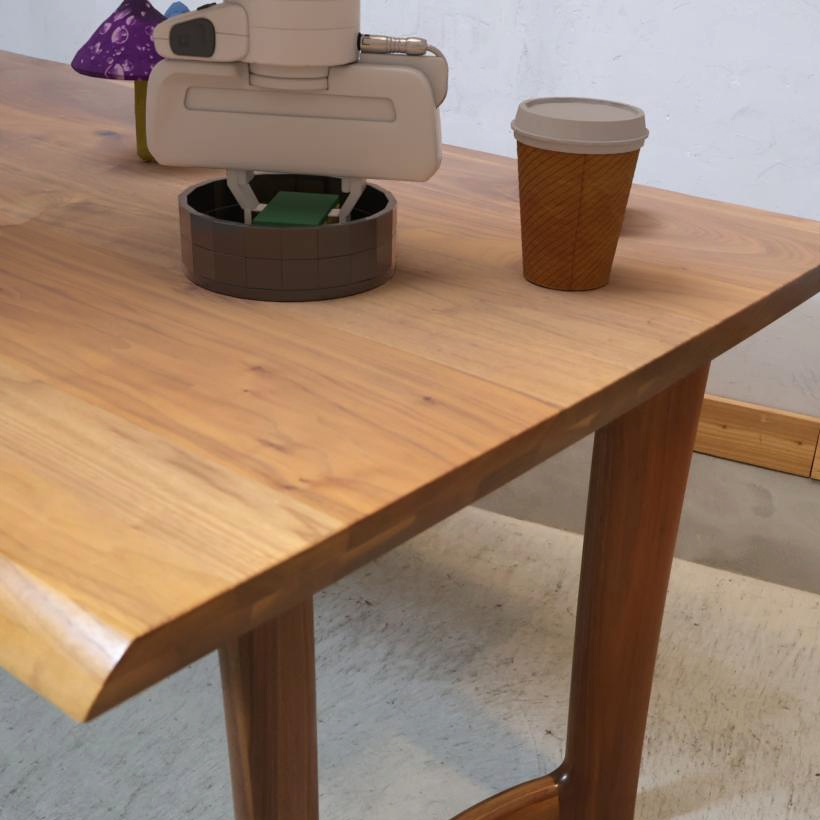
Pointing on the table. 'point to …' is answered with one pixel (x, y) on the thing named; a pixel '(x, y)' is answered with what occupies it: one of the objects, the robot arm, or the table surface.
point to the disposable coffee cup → (574, 186)
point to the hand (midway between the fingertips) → (297, 234)
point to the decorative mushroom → (125, 56)
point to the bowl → (286, 242)
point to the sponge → (297, 209)
